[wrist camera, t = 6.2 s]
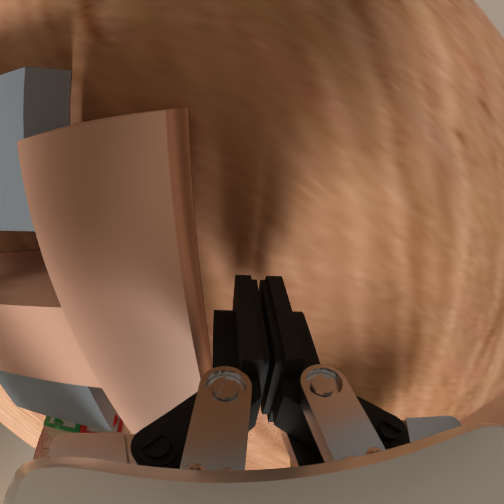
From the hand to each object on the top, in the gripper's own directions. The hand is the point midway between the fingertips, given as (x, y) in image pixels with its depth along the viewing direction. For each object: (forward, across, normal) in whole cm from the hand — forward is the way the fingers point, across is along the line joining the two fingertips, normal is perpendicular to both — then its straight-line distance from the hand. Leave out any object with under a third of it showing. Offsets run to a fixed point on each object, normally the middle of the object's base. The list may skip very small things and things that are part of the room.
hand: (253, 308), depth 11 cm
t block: (+2, +8, +1) cm, 9 cm away
